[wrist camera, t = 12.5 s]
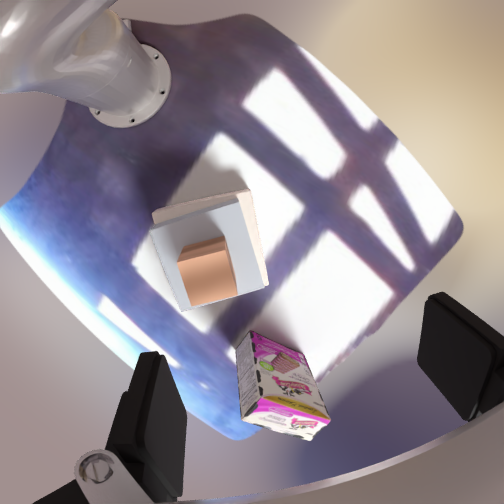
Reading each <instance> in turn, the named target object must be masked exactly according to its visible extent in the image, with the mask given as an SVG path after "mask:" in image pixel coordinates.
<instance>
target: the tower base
mask: <svg viewBox="0 0 504 504" xmlns="http://www.w3.org/2000/svg"><path fill="white" fill-rule="evenodd" d="M235 198H238V200H239V203H240V206H241V209H242V213H243V216H244V219H245V223H246V226H247V229H248V233H249V236H250V239H251V243H252V246H253V249H254V253H255V256H256V260H257V263H258V266H259V270H260V273H261V276H262V280H263V283H264V286H266V285H269V282H268V277H267V271H266V266H265V261H264V256H263V250H262V245H261V240H260V235H259V230H258V224H257V219H256V214H255V209H254V204H253V199H252V194H251V190H250V189H249V188H248V189H243V190H239V191H234V192H229V193H224V194H220V195H215V196H210V197H206V198H201V199H197V200H193V201H188V202H184V203H180V204H176V205H171V206H167V207H163V208H159V209H156V210H155V211H154V212H153V213H152V216H153V220H154V224H155V225H156V224H157V223H160V222H163V221H166V220H169V219H172V218H175V217H178V216H181V215H184V214H187V213H191V212H194V211H197V210H200V209H203V208H206V207H209V206H213V205H216V204H219V203H222V202H225V201H229V200H232V199H235ZM177 304H178V303H177Z"/></svg>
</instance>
